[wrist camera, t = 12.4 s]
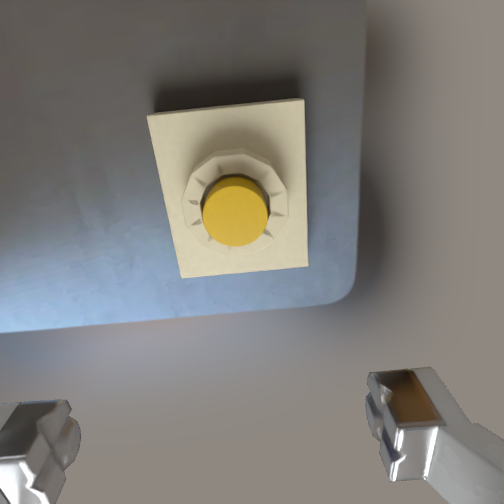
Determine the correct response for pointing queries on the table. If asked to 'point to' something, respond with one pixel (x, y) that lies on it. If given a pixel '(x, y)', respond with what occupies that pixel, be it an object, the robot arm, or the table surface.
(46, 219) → the table surface
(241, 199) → the yellow push button
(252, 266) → the housing
